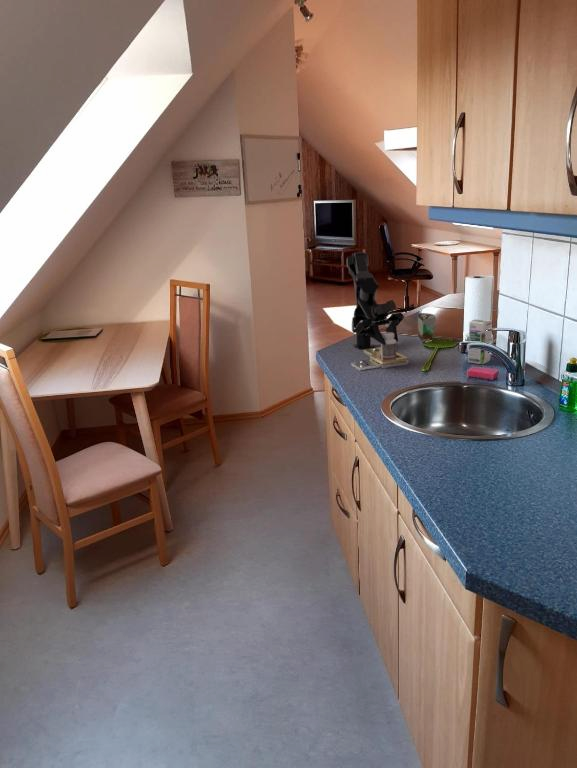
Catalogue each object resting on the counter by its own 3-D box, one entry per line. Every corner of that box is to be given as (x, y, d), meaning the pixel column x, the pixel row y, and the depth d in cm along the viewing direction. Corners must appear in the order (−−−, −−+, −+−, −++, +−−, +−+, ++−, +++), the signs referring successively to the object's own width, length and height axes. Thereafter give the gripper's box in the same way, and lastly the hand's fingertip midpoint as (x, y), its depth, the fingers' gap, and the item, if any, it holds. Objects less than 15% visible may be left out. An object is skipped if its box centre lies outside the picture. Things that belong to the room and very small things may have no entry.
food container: (439, 343, 237) (439, 318, 234) (423, 344, 237) (423, 319, 234) (432, 336, 249) (432, 312, 245) (417, 337, 249) (417, 312, 246)
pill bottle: (399, 360, 215) (399, 333, 212) (386, 363, 213) (386, 336, 210) (391, 357, 220) (390, 330, 217) (378, 359, 218) (377, 333, 215)
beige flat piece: (340, 359, 225) (339, 351, 224) (383, 352, 230) (383, 344, 229) (361, 371, 208) (361, 363, 207) (408, 363, 214) (408, 356, 213)
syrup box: (467, 362, 211) (468, 321, 206) (475, 358, 215) (476, 318, 210) (482, 365, 207) (484, 323, 202) (490, 360, 211) (492, 319, 206)
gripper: (359, 297, 208) (380, 334, 202) (400, 289, 217) (422, 325, 211) (346, 316, 217) (366, 352, 211) (386, 308, 226) (406, 342, 220)
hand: (391, 342), depth 213 cm, fingers closed on pill bottle, 5 cm apart
